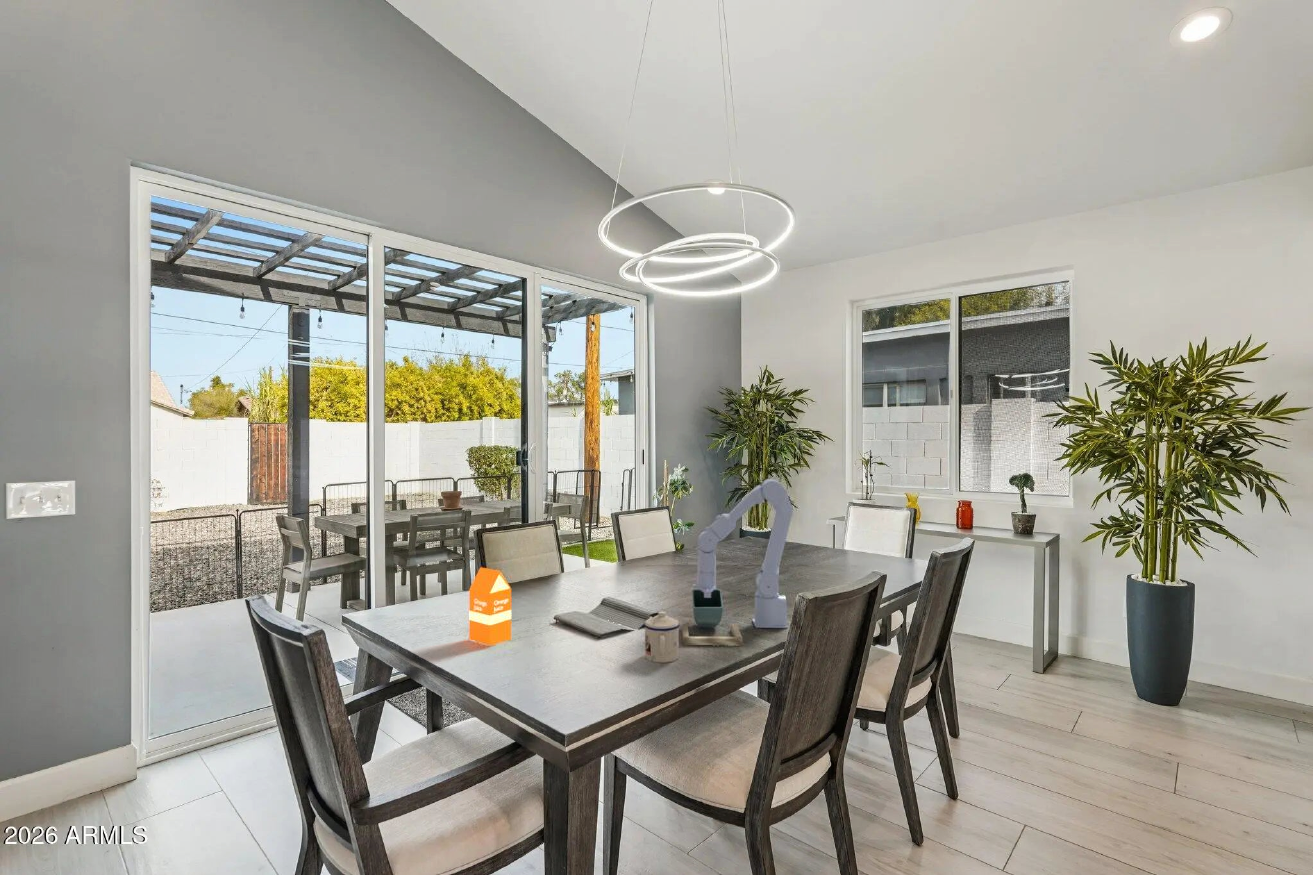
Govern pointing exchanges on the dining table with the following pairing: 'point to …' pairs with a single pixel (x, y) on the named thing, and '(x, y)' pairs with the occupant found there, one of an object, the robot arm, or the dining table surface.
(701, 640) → the cream wooden frame
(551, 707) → the dining table surface
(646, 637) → the teacup with lid
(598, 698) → the dining table surface
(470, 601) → the orange juice
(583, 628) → the mat
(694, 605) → the flower pot
